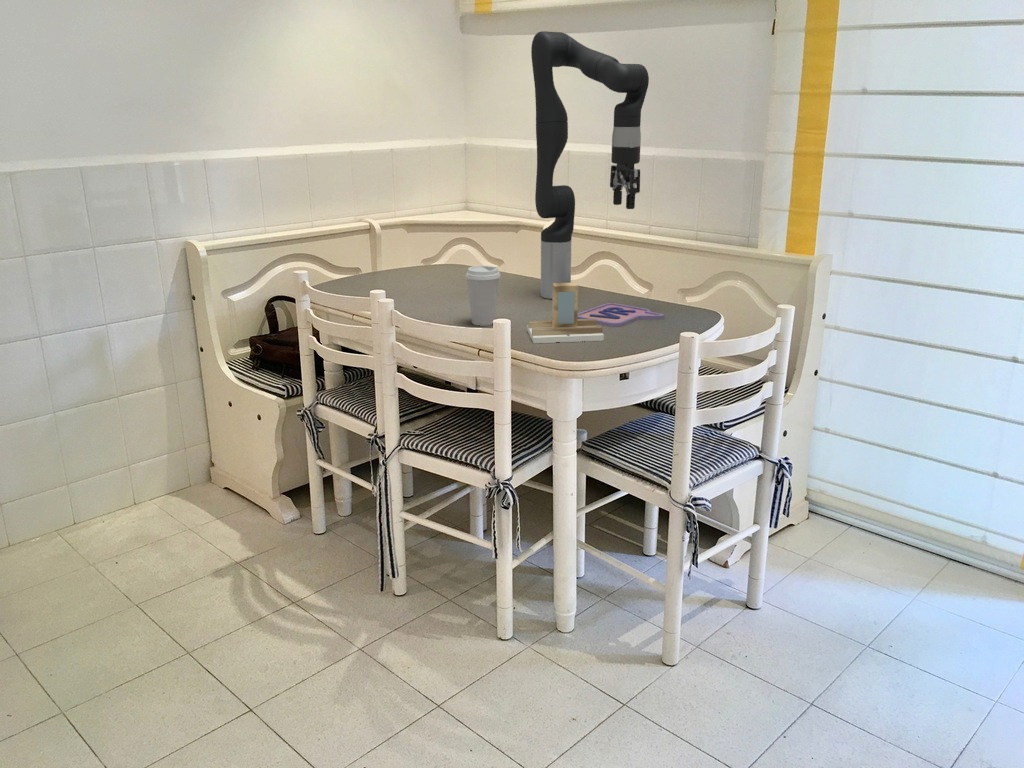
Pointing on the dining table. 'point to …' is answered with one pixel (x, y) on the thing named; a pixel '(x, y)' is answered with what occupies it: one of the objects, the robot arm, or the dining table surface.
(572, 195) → the robot arm
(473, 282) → the coffee cup
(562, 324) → the wooden block
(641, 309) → the icon
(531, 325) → the ledge
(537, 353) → the dining table surface
